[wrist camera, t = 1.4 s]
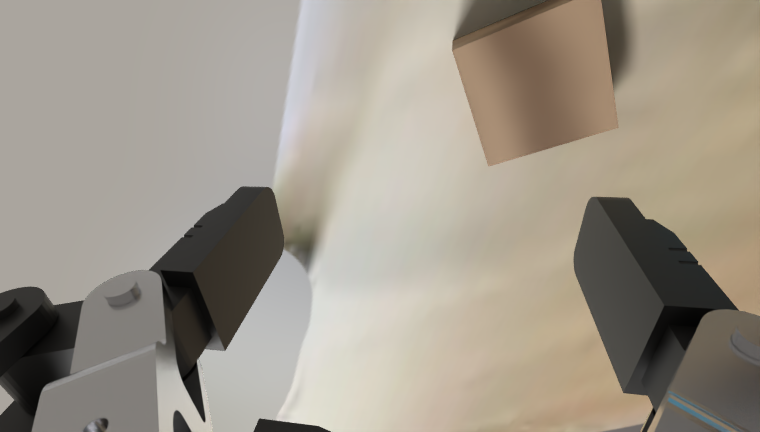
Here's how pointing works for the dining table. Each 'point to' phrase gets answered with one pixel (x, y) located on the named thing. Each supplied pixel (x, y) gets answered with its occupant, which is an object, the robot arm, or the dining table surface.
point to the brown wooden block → (538, 78)
